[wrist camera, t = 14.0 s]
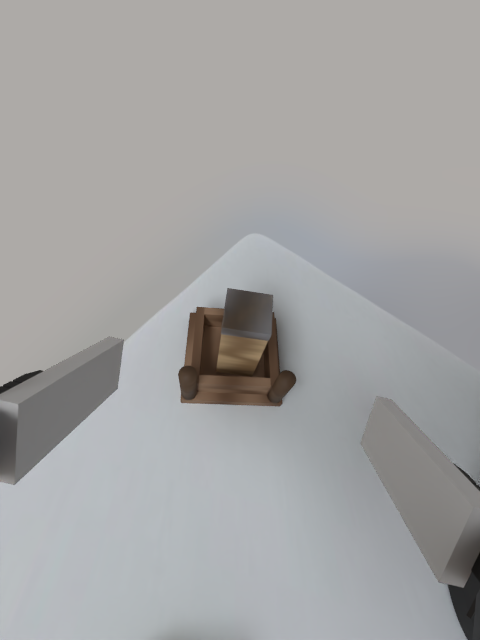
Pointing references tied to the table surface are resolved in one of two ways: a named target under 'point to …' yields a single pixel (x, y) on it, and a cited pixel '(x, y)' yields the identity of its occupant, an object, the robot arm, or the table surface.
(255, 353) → the block
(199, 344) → the brown square open box
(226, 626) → the table surface
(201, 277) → the table surface
